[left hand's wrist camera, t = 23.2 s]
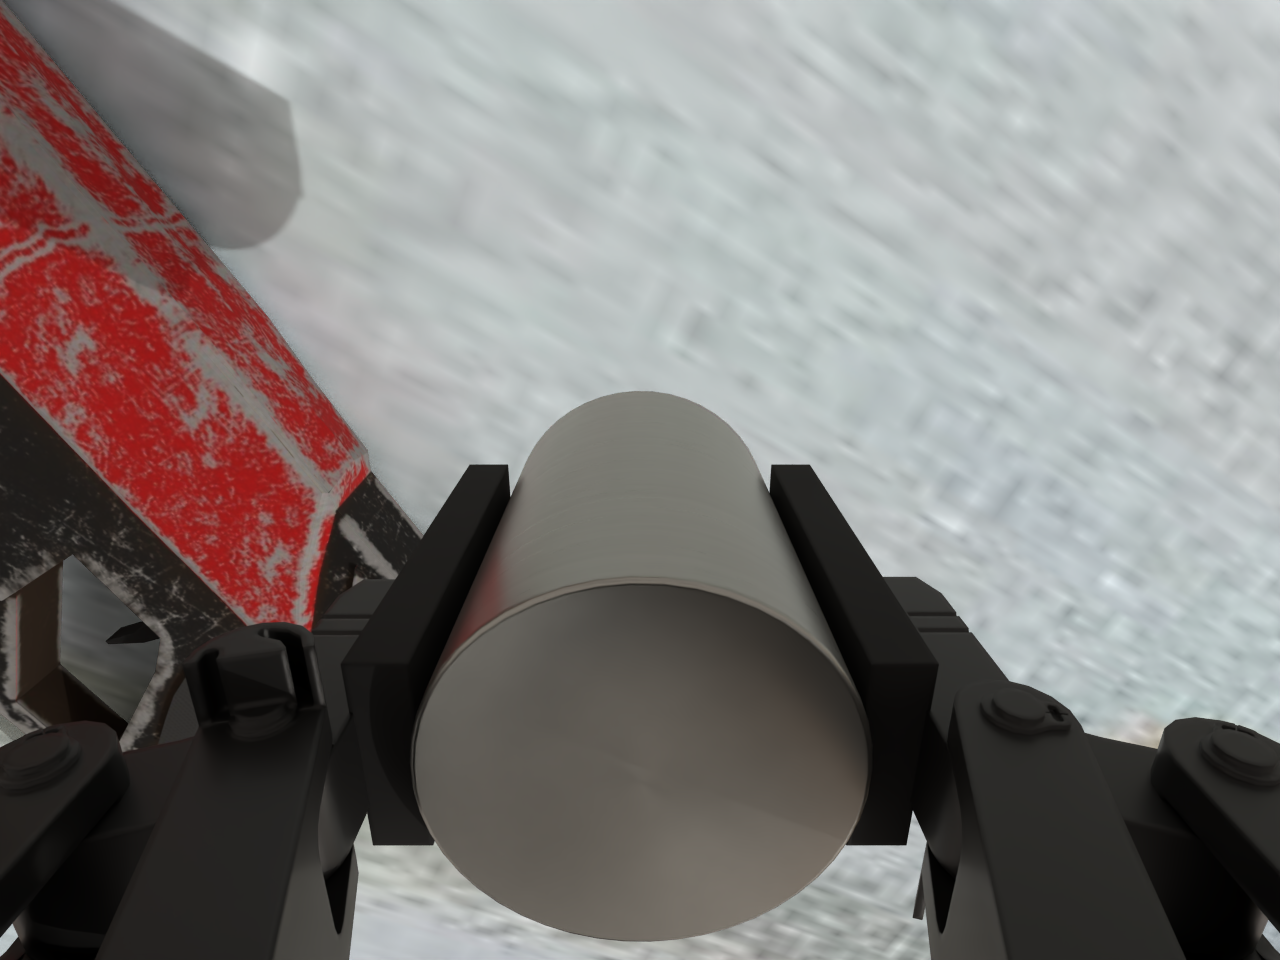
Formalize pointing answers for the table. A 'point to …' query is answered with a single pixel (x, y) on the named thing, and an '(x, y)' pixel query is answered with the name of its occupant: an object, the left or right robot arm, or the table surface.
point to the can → (641, 690)
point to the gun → (150, 424)
